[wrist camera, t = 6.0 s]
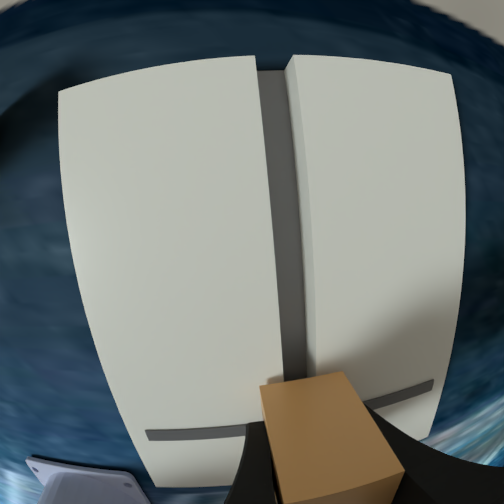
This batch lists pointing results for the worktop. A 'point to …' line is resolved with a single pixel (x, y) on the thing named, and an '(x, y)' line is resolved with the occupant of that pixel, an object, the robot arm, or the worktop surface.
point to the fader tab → (326, 444)
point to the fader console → (263, 243)
